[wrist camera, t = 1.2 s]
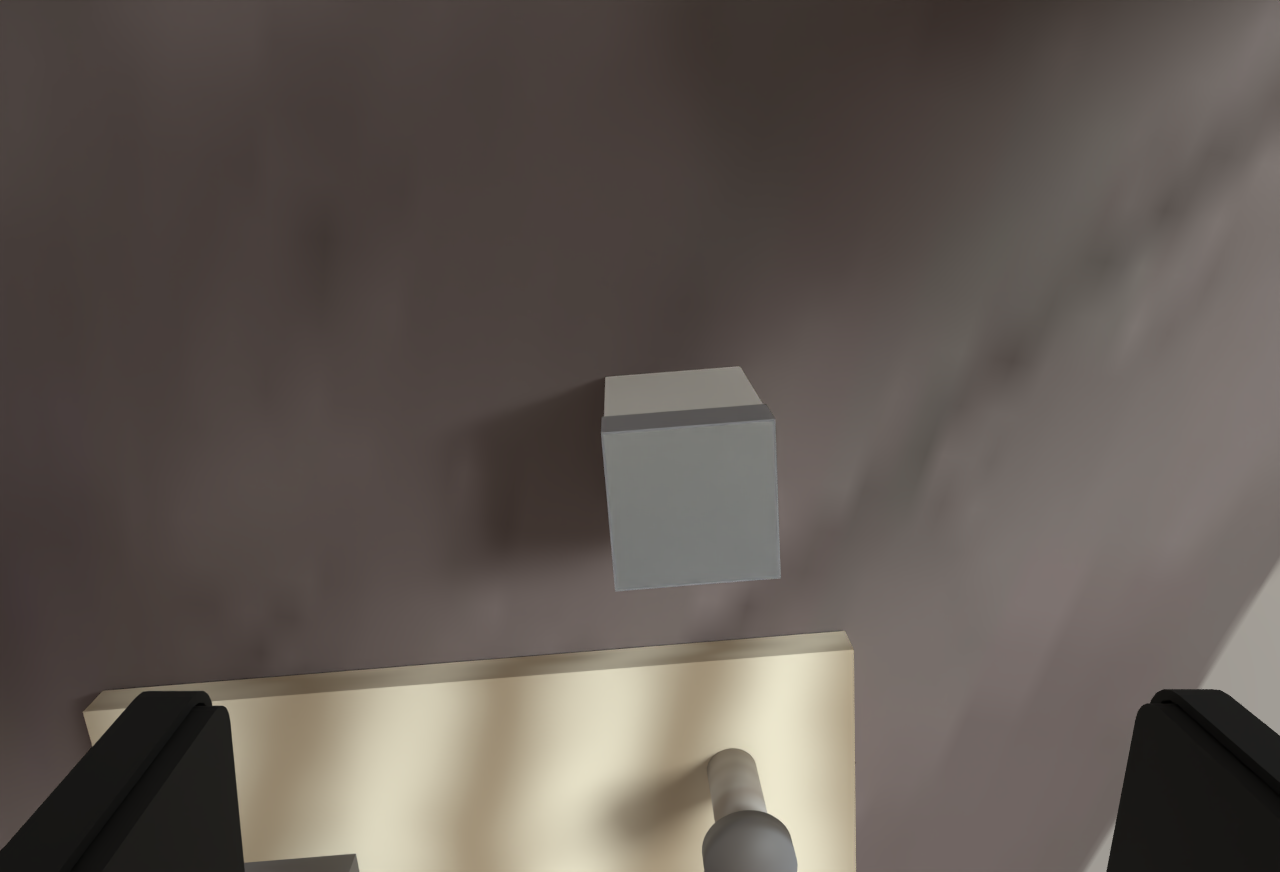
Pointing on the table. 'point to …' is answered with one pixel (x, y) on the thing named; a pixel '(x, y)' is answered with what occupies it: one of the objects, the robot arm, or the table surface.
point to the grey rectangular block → (690, 479)
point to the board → (549, 761)
